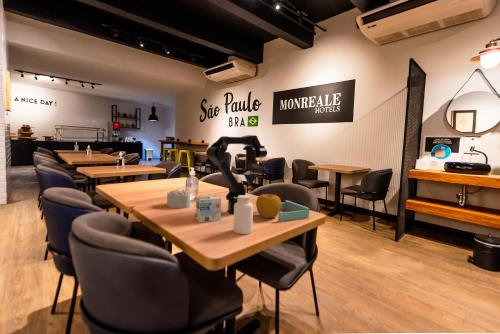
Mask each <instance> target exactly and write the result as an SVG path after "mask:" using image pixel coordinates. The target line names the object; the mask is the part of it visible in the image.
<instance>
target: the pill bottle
mask: <svg viewBox="0 0 500 334" xmlns="http://www.w3.org/2000/svg"><path fill="white" fill-rule="evenodd" d="M237 201H238V202H236V203H235V205H234V214H233V232H234V233H236V234H239V235H249V234H250V233H252V232H253V225H254V224H253V223H254V221H253V219H254V217H253V216H254V205H253V203H252V202H251V196H250V195H247V194H246V195H240V196H238V197H237Z"/></svg>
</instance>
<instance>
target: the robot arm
mask: <svg viewBox="0 0 500 334" xmlns="http://www.w3.org/2000/svg"><path fill="white" fill-rule="evenodd" d="M229 145H243V146H244V147H243V148H242V151H245V159H244V162H245V166H244V168H241V167H240V168H239V167H237V168H236V167H235V168H233V170H232V171H233V172H232V171H231V168H230V167H229V165H228V163H227V161H226V154H225V153H226V152H227V150H228V147H229ZM205 154H206V156H207V158H208V159H209V160H210V161H211V162H212V163H214V164H215V165H216V167H217V168H218V170H219V171H220V173H221V175H222V177H223V178H224V180H225V183H227V185H228V192H227V194H226V196H225V200H226V201H227V204H228V205H227V210H226V212H227V213H228V214H230V215H234V205H235V203H236V202H238V201H237V197H238V196H240V195H247V194H246V193H247V190H246V187H245V185H244V183H243V182H241V181H240V182H239V181H238V180H237V179H236V177H235V175H239V176H240V175H242V176H244V178H245V180H246V182H247V183H246V184H247V185H248V187H253V185H254V182H255V179H256V177H257V176H259V174H260V173H262V174H268V169H267V168H266V167H265V164H264V163H259V162H258V160H257V159H258V158H260V159H261V158H266V157H267V155H268V151H267V148H266V147H265V145H262V144H261V142H260V140H259V138H258V136H257V135H255V134H253V135H251V134H250V135H249V134H247V135H243V136H225V135H223V136H220V137H219V138H218V139H217V140H216V141H214V142H213V143H212V144H211V145H210V146H209V147H208V148H207V149H206V153H205ZM258 163H259V164H258Z"/></svg>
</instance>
